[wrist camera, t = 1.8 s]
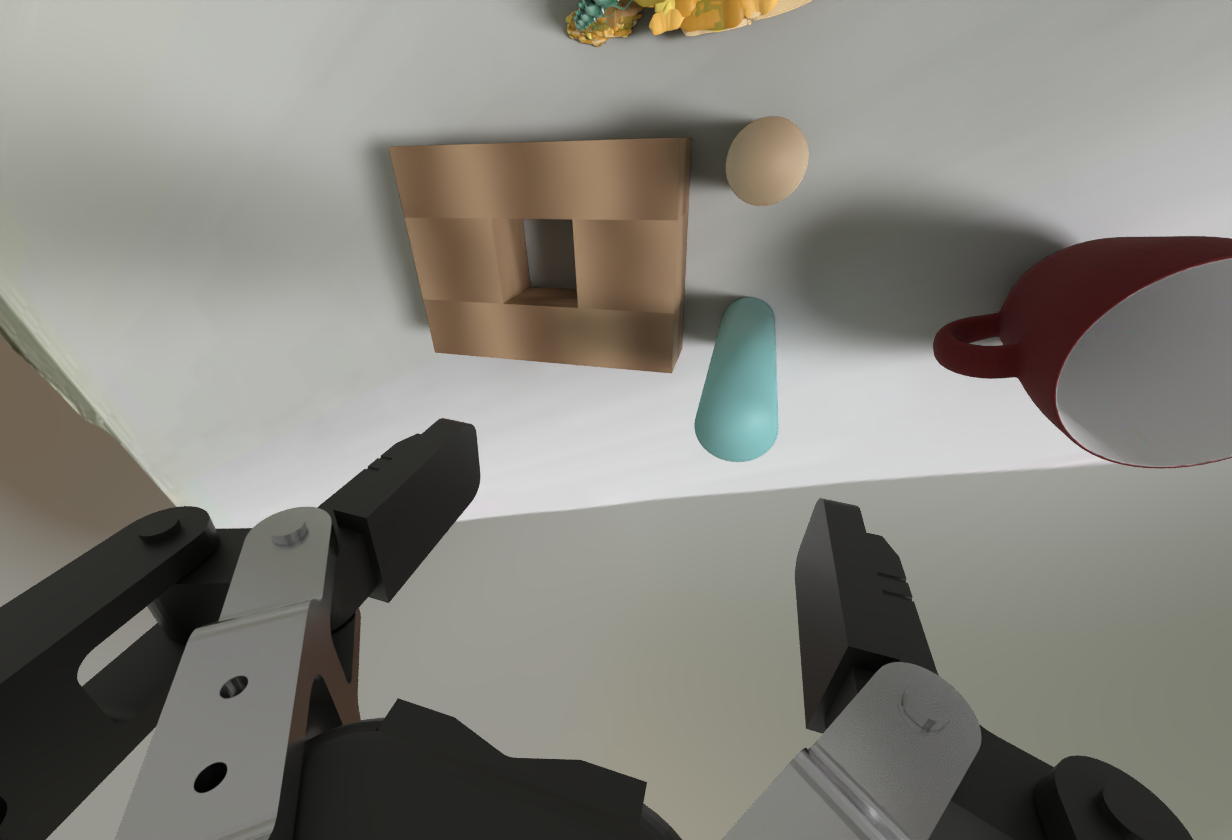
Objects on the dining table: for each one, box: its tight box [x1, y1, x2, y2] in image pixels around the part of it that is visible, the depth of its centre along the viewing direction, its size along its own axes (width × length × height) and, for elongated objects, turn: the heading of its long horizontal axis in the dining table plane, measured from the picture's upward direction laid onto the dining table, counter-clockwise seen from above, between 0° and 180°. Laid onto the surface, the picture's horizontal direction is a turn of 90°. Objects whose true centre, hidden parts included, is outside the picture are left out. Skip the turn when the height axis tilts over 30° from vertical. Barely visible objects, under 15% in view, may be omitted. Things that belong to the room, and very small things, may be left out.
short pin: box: [726, 116, 809, 206], centre depth 22 cm, size 3×3×7 cm
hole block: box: [389, 138, 692, 373], centre depth 29 cm, size 16×12×4 cm
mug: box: [933, 236, 1232, 468], centre depth 21 cm, size 11×8×10 cm
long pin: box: [695, 297, 778, 462], centre depth 24 cm, size 3×3×13 cm
